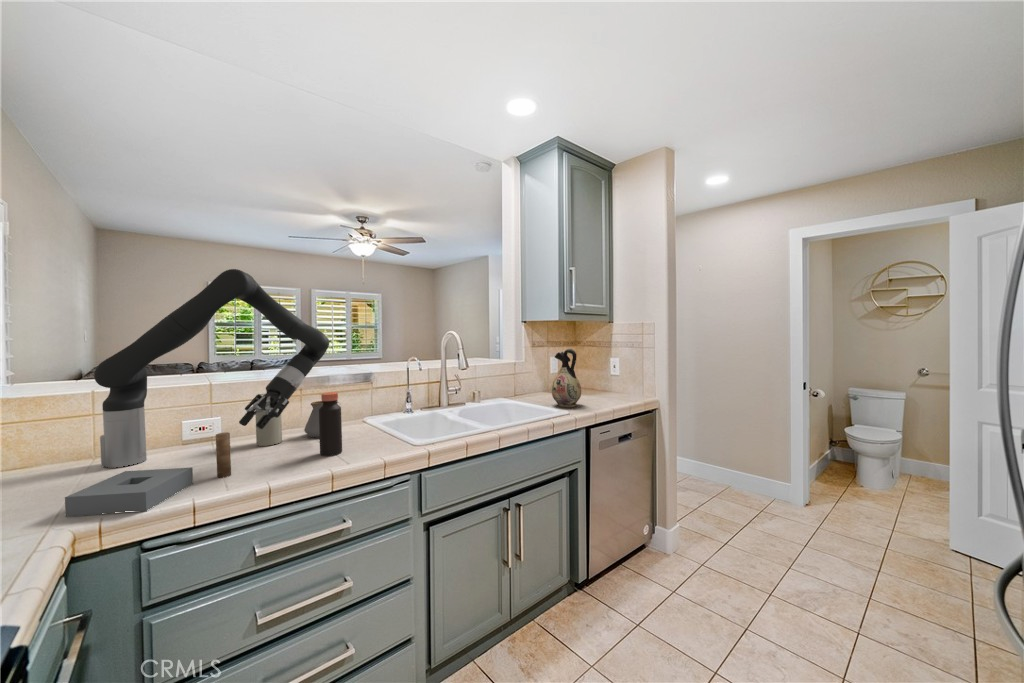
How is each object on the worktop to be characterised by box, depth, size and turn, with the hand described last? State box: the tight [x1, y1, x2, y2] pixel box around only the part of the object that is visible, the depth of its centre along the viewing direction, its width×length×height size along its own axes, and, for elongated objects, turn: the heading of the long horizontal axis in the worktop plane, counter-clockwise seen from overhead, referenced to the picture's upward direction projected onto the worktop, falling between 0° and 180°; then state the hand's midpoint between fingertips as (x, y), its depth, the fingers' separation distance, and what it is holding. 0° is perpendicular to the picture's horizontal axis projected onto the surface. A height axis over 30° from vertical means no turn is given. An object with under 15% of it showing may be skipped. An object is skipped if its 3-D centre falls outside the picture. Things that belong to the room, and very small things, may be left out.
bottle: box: [318, 391, 343, 457], centre depth 130 cm, size 7×7×20 cm
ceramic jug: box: [551, 348, 582, 408], centre depth 203 cm, size 17×15×30 cm
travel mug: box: [255, 392, 283, 447], centre depth 142 cm, size 8×8×18 cm
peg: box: [215, 431, 232, 479], centre depth 110 cm, size 3×3×12 cm
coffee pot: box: [303, 400, 340, 438], centre depth 149 cm, size 21×12×15 cm, turn 48°
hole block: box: [64, 466, 194, 518], centre depth 96 cm, size 16×16×4 cm
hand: (250, 426), depth 117 cm, fingers open, 8 cm apart
